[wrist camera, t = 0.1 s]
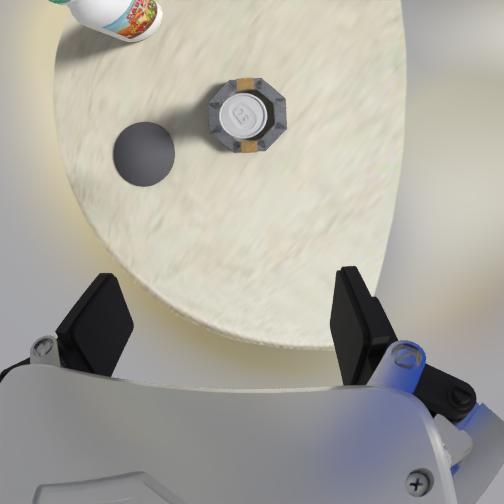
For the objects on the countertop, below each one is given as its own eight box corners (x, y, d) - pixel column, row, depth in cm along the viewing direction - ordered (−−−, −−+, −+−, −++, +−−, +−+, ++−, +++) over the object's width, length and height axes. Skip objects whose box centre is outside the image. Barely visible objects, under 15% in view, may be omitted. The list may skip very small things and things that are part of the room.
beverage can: (244, 138, 37) (237, 148, 26) (223, 112, 35) (207, 112, 25) (272, 118, 35) (277, 120, 25) (251, 91, 34) (247, 82, 23)
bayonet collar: (209, 84, 33) (204, 82, 30) (283, 79, 33) (284, 76, 30) (215, 151, 38) (211, 155, 35) (286, 148, 37) (288, 151, 34)
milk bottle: (121, 50, 30) (33, 29, 12) (115, 13, 26) (34, -20, 9) (167, 32, 29) (97, -14, 11) (160, -6, 25) (96, -61, 8)
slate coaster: (111, 129, 36) (109, 129, 35) (170, 116, 35) (169, 117, 35) (121, 189, 41) (119, 190, 40) (178, 181, 40) (177, 183, 40)
